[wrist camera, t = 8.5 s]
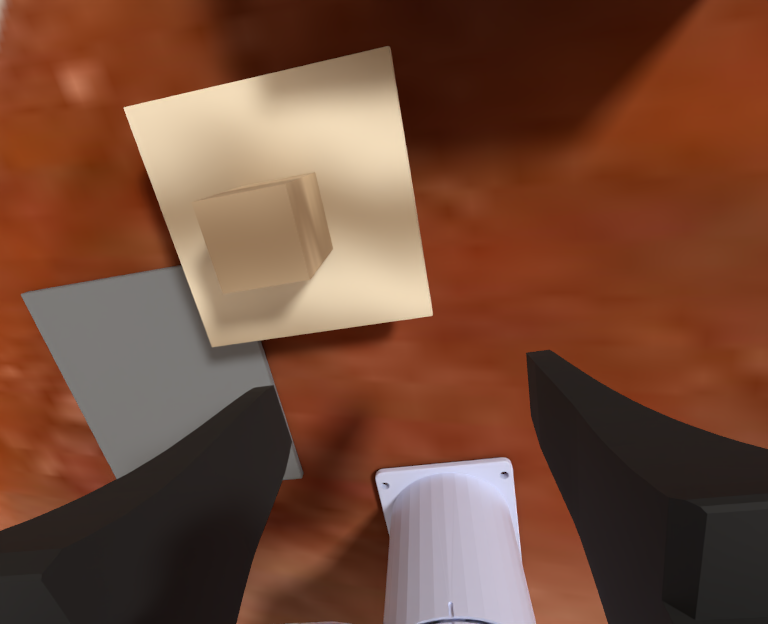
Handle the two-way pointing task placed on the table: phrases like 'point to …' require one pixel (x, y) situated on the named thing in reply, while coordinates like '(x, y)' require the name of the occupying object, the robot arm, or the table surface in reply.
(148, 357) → the mat
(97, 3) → the table surface
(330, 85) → the lid
